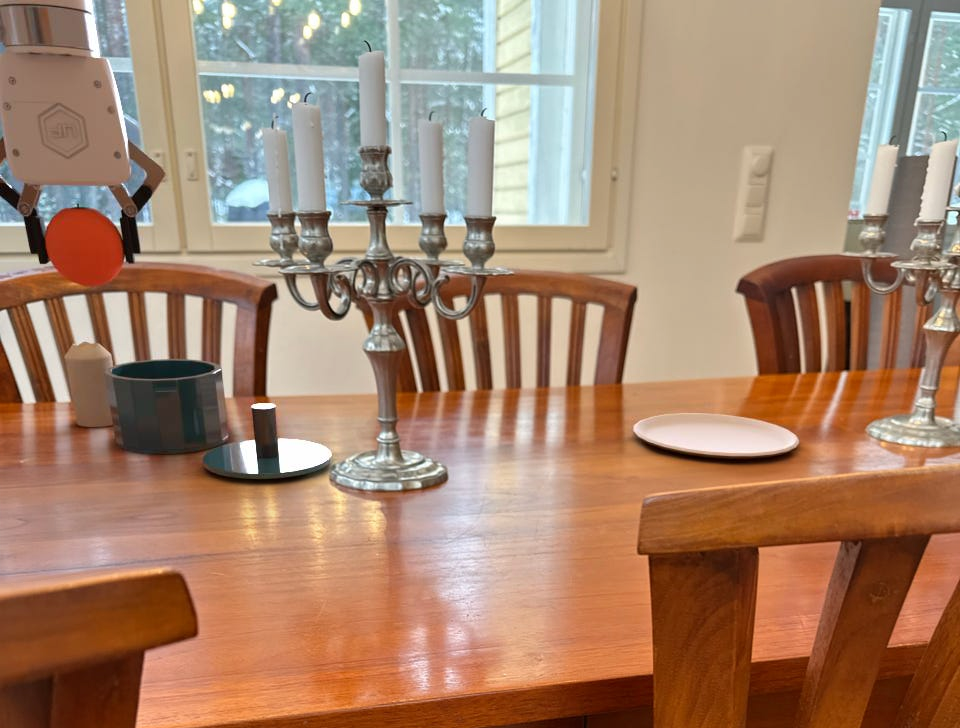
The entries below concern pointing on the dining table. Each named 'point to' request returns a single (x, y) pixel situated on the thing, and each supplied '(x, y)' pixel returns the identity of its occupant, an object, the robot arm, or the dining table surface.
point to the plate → (716, 436)
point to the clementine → (84, 246)
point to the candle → (89, 383)
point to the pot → (167, 405)
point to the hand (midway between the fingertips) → (88, 261)
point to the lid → (266, 452)
